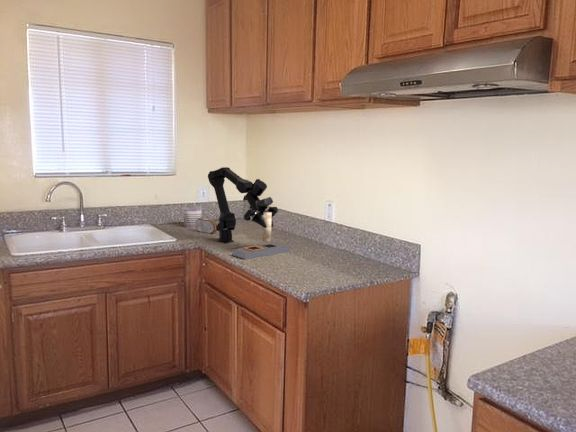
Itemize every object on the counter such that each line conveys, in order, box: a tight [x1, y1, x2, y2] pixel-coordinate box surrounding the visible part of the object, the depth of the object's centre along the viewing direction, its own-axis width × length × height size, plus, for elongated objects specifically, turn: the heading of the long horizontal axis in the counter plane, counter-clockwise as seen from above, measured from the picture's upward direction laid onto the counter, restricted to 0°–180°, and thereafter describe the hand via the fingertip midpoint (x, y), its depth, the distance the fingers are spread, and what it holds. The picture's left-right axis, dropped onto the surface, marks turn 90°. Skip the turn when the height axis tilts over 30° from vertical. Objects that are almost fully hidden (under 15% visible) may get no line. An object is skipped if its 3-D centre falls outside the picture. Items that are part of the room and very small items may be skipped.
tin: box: [195, 217, 218, 235], centre depth 286 cm, size 15×3×8 cm, turn 58°
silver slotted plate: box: [231, 241, 291, 260], centre depth 238 cm, size 28×10×3 cm, turn 132°
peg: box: [262, 212, 273, 243], centre depth 239 cm, size 4×4×14 cm
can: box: [182, 205, 203, 229], centre depth 305 cm, size 11×11×12 cm
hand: (269, 227), depth 238 cm, fingers closed on peg, 4 cm apart
